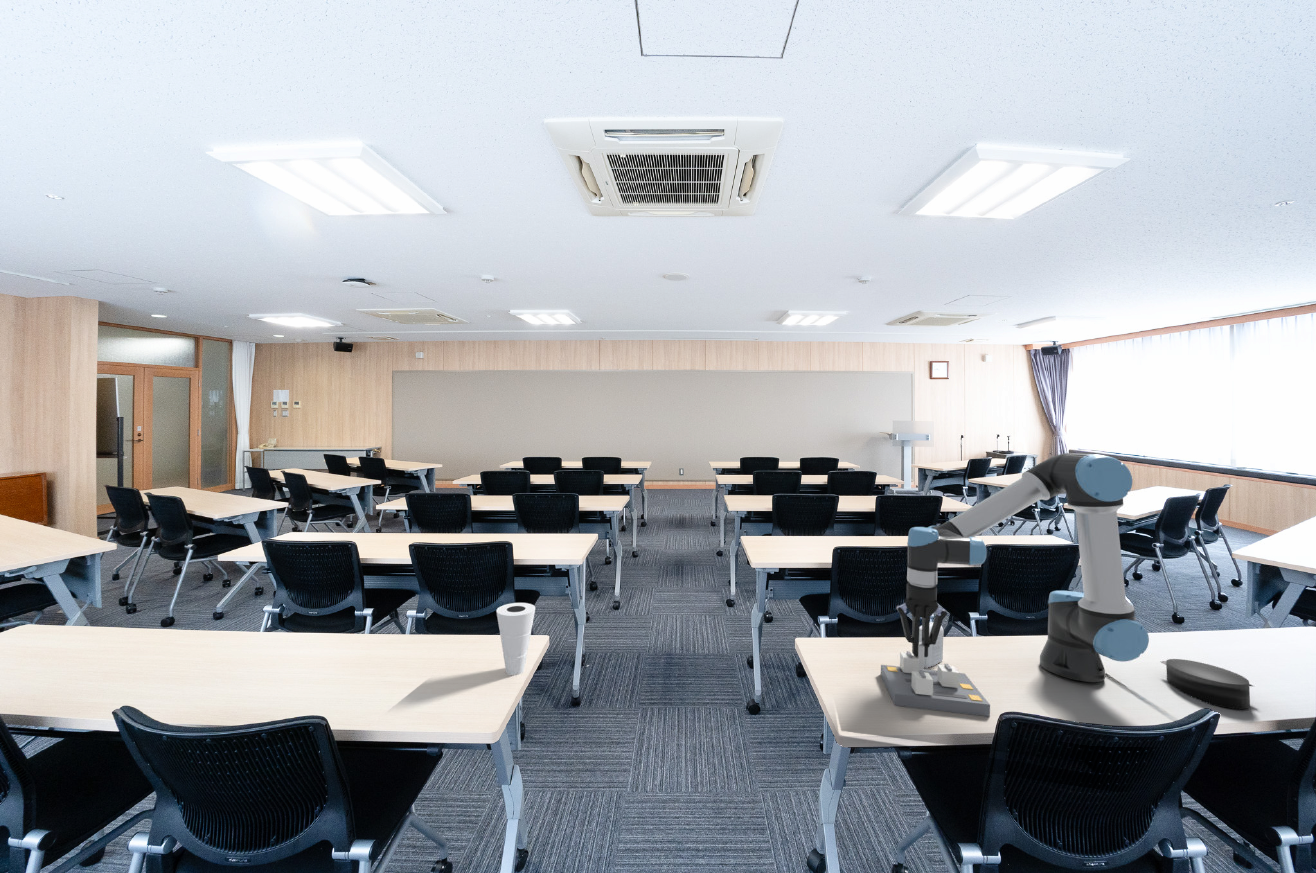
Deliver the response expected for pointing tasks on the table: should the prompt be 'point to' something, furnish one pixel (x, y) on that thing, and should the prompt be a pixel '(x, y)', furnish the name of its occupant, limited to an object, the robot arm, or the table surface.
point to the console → (935, 693)
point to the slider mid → (948, 676)
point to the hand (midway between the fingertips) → (919, 667)
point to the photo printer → (933, 648)
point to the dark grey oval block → (1209, 683)
